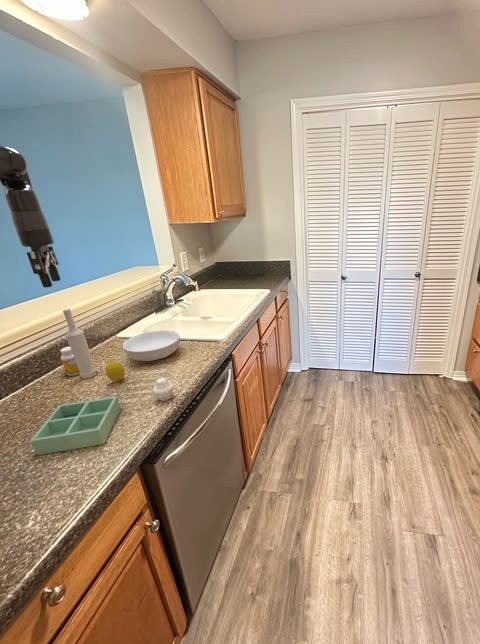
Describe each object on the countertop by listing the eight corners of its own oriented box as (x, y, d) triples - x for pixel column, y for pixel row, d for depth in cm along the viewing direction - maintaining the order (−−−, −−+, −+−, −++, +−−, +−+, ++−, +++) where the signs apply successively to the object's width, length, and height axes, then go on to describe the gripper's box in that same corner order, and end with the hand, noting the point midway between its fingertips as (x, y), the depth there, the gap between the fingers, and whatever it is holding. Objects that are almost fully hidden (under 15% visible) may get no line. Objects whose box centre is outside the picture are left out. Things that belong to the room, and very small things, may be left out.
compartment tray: (36, 455, 80) (29, 441, 78) (64, 418, 94) (58, 405, 92) (104, 443, 82) (99, 429, 81) (121, 409, 96) (117, 396, 95)
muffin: (179, 396, 101) (175, 377, 98) (161, 406, 97) (156, 386, 94) (169, 390, 105) (165, 371, 102) (151, 399, 100) (146, 379, 98)
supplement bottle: (65, 372, 120) (56, 349, 116) (82, 367, 123) (74, 344, 119) (68, 377, 116) (59, 353, 112) (85, 372, 119) (77, 348, 115)
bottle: (80, 380, 114) (56, 313, 104) (81, 374, 118) (57, 309, 108) (97, 375, 116) (75, 309, 106) (97, 370, 120) (75, 306, 110)
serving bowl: (148, 372, 116) (144, 355, 114) (116, 360, 127) (111, 344, 124) (193, 350, 132) (190, 334, 130) (161, 341, 143) (157, 326, 140)
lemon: (108, 387, 108) (101, 366, 105) (110, 379, 113) (103, 359, 110) (127, 382, 110) (120, 362, 107) (127, 375, 115) (121, 355, 112)
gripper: (26, 227, 97) (45, 280, 103) (5, 231, 85) (29, 291, 91) (55, 225, 99) (72, 277, 106) (39, 228, 87) (60, 287, 93)
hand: (52, 283), depth 98 cm, fingers open, 8 cm apart
